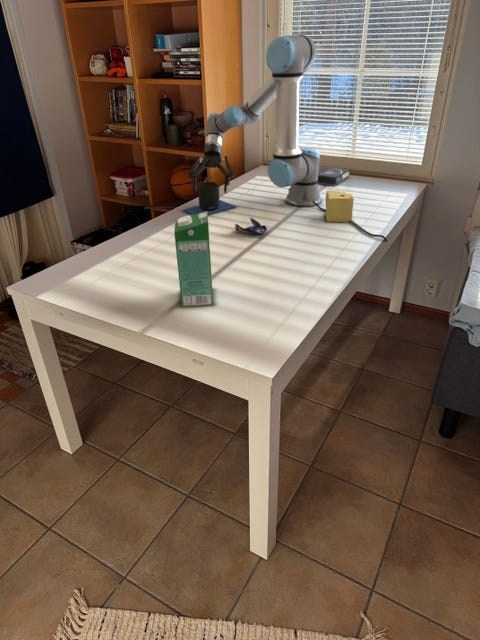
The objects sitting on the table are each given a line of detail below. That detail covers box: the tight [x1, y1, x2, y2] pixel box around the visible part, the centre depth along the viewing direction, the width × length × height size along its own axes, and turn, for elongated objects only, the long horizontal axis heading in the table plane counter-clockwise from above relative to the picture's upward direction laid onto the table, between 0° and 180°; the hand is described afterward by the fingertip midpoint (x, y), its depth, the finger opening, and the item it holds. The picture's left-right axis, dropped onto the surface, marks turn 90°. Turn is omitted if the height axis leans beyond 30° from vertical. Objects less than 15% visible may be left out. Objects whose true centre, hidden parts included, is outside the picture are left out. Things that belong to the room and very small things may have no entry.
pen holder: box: [196, 181, 220, 211], centre depth 204 cm, size 9×9×10 cm
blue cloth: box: [182, 199, 237, 216], centre depth 206 cm, size 12×20×1 cm, turn 128°
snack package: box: [234, 217, 268, 236], centre depth 180 cm, size 12×6×12 cm
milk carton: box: [173, 211, 214, 307], centre depth 132 cm, size 9×9×25 cm
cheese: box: [325, 190, 355, 223], centre depth 191 cm, size 10×11×10 cm
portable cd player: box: [318, 165, 350, 186], centre depth 241 cm, size 16×17×4 cm
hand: (209, 191), depth 204 cm, fingers open, 13 cm apart
